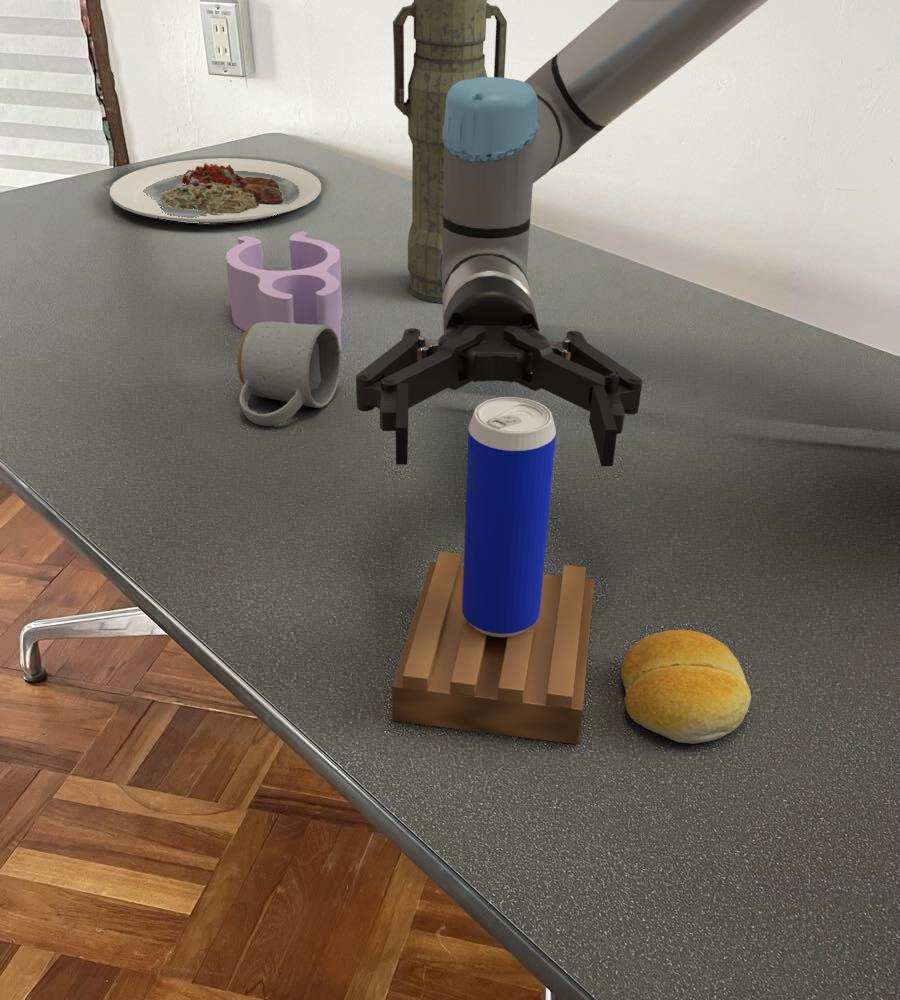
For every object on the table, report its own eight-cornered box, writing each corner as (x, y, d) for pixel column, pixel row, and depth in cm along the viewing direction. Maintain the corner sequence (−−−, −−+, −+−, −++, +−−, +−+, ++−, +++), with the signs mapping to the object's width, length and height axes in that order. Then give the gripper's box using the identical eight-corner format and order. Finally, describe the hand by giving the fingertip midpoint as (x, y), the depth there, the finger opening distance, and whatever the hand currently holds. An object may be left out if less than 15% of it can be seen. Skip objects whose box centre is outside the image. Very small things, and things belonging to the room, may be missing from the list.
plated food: (182, 248, 139) (179, 222, 137) (74, 194, 157) (69, 170, 154) (363, 205, 156) (362, 181, 154) (247, 160, 173) (245, 138, 171)
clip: (367, 354, 114) (365, 291, 110) (250, 367, 111) (243, 302, 107) (327, 287, 129) (325, 229, 125) (223, 296, 126) (217, 237, 122)
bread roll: (628, 747, 68) (636, 701, 65) (615, 656, 75) (622, 611, 72) (759, 752, 68) (772, 705, 65) (734, 660, 75) (744, 615, 72)
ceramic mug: (269, 375, 109) (262, 302, 105) (344, 387, 108) (340, 314, 103) (220, 422, 101) (210, 346, 97) (300, 436, 100) (293, 360, 95)
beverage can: (502, 585, 75) (515, 386, 65) (555, 620, 71) (575, 418, 62) (445, 613, 72) (450, 410, 63) (497, 651, 69) (510, 444, 60)
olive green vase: (389, 280, 132) (384, -52, 111) (482, 273, 134) (495, -52, 113) (403, 307, 125) (402, -41, 104) (501, 300, 127) (518, -42, 106)
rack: (590, 612, 79) (596, 567, 76) (578, 745, 68) (584, 697, 65) (429, 594, 80) (430, 549, 78) (392, 721, 69) (391, 674, 67)
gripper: (636, 364, 90) (686, 498, 73) (337, 361, 89) (317, 495, 72) (648, 276, 85) (704, 397, 68) (333, 272, 84) (311, 392, 67)
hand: (505, 447), depth 70 cm, fingers open, 13 cm apart
